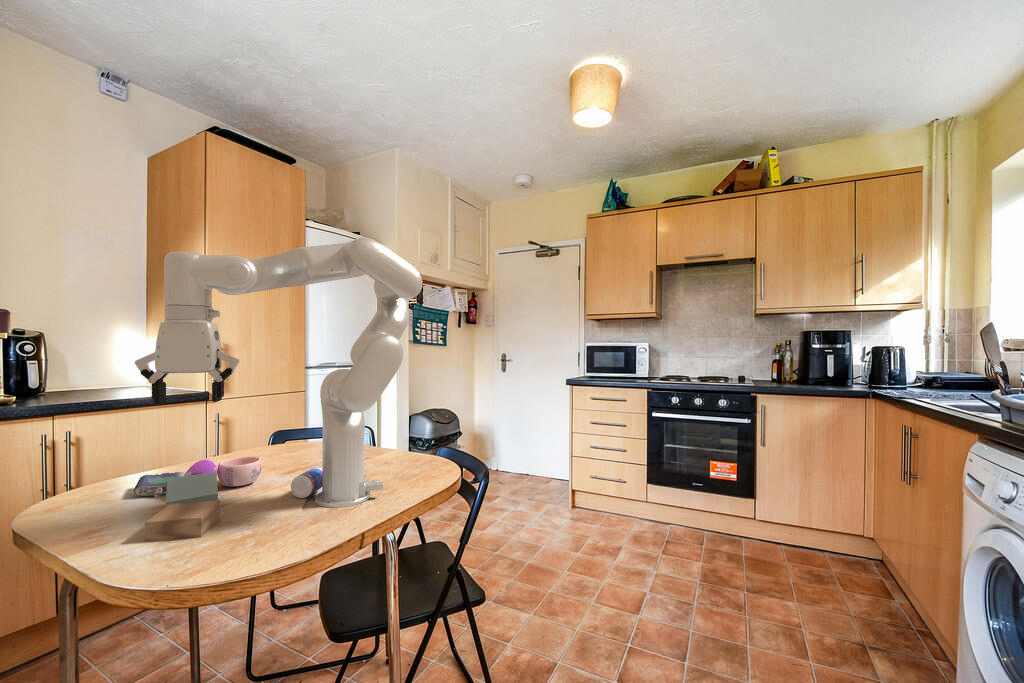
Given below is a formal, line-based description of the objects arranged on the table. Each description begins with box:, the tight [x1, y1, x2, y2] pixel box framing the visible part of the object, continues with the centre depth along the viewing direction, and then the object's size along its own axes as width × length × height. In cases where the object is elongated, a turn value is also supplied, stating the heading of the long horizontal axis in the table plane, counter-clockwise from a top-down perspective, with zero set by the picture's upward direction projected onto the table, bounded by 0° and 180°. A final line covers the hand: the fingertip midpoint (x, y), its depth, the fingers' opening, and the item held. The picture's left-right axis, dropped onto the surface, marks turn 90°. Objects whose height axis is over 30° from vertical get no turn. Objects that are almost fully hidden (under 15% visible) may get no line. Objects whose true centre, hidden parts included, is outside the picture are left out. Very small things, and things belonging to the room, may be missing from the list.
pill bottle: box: [290, 467, 322, 499], centre depth 107 cm, size 6×5×10 cm
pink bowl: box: [216, 456, 263, 487], centre depth 114 cm, size 12×10×6 cm
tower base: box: [144, 499, 221, 542], centre depth 85 cm, size 9×9×4 cm
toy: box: [184, 459, 218, 476], centre depth 104 cm, size 7×7×15 cm
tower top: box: [165, 472, 219, 507], centre depth 96 cm, size 9×9×4 cm
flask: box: [133, 471, 185, 498], centre depth 106 cm, size 9×3×11 cm
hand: (189, 402), depth 85 cm, fingers open, 9 cm apart
